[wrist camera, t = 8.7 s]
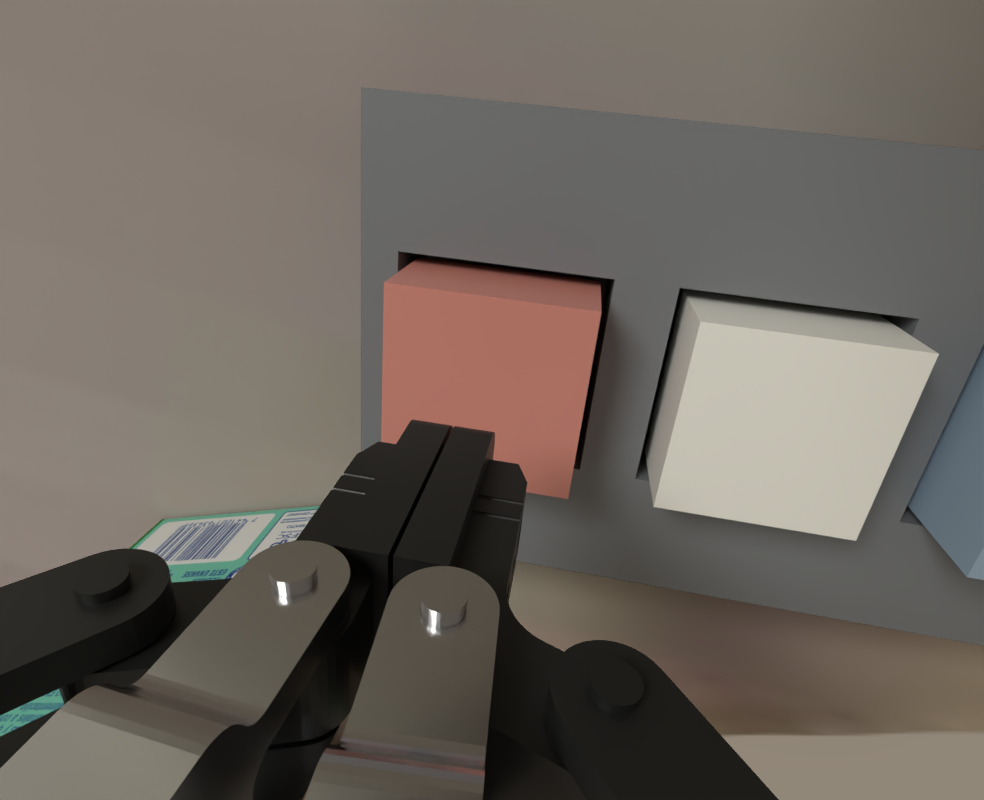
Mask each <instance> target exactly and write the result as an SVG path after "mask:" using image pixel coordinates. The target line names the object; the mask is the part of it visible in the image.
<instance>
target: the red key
mask: <svg viewBox="0 0 984 800" xmlns="http://www.w3.org/2000/svg"><path fill="white" fill-rule="evenodd" d="M601 312H602V311H601V282H600V281H596V280H588V279H581V278H573V277H565V276H558V275H550V274H542V273H535V272H527V271H519V270H512V269H504V268H496V267H489V266H481V265H473V264H466V263H458V262H450V261H443V260H435V259H427V258H420V257H419V258H417V259H416V260H414V261H413V262H412V263H410V264H409V265H407V266H406V267H405V268H403V269H402V270H400V271H399V272H398V273H396V274H395V275H393V276H392V277H391V278H389V279H388V280H387V281H385V282H384V302H383V361H382V420H381V442H385V443H391V444H396V443H397V442H398V440H399V438H400V437H401V435H402V434H403V432H404V430H405V429H406V427H407V425H408V424H409V422H410V421H411V420H413V419H414V420H420V421H426V422H433V423H439V424H445V425H452V426H453V427H454V426H459V427H465V428H472V429H478V430H484V431H491V432H495V445H494V455H493V460H497V461H503V462H509V463H515V464H519V466H520V468H521V470H522V472H523V474H524V476H525V479H526V481H527V489H526V492H529V493H535V494H540V495H546V496H552V497H558V498H564V499H568V496H569V491H570V485H571V480H572V474H573V469H574V463H575V457H576V452H577V446H578V441H579V435H580V429H581V424H582V418H583V413H584V407H585V402H586V396H587V390H588V385H589V379H590V374H591V368H592V362H593V357H594V351H595V346H596V340H597V335H598V329H599V323H600V318H601Z"/></svg>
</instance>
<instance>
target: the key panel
mask: <svg viewBox="0 0 984 800" xmlns="http://www.w3.org/2000/svg"><path fill="white" fill-rule="evenodd" d="M419 257H420V258H427V259H435V260H443V261H450V262H458V263H466V264H473V265H481V266H489V267H496V268H504V269H512V270H519V271H527V272H535V273H542V274H550V275H558V276H565V277H573V278H581V279H588V280H596V281H600V282H601V311H602V312H601V318H600V323H599V329H598V335H597V340H596V346H595V351H594V357H593V362H592V368H591V374H590V379H589V385H588V390H587V396H586V402H585V407H584V413H583V418H582V424H581V429H580V435H579V441H578V446H577V452H576V457H575V463H574V469H573V474H572V480H571V485H570V491H569V496H568V499H564V498H558V497H552V496H546V495H540V494H535V493H529V492H526V497H525V504H524V511H523V518H522V526H521V533H520V540H519V547H518V554H517V559H516V561H519V562H524V563H530V564H535V565H541V566H546V567H552V568H557V569H563V570H568V571H574V572H579V573H585V574H590V575H596V576H601V577H607V578H612V579H618V580H623V581H629V582H634V583H640V584H646V585H651V586H657V587H662V588H668V589H673V590H679V591H684V592H690V593H695V594H701V595H706V596H712V597H717V598H723V599H728V600H734V601H739V602H745V603H750V604H756V605H761V606H767V607H772V608H778V609H783V610H789V611H795V612H800V613H806V614H811V615H817V616H822V617H828V618H833V619H839V620H844V621H850V622H855V623H861V624H866V625H872V626H877V627H883V628H888V629H894V630H899V631H905V632H910V633H916V634H921V635H927V636H932V637H938V638H944V639H949V640H955V641H960V642H966V643H971V644H977V645H982V646H984V580H980V579H974V578H969V577H966V576H965V574H964V573H963V572H962V571H961V570H960V568H959V567H958V566H957V565H956V564H955V562H954V561H953V560H952V559H951V558H950V556H949V555H948V554H947V553H946V552H945V550H944V549H943V548H942V547H941V546H940V544H939V543H938V542H937V541H936V539H935V538H934V537H933V536H932V535H931V533H930V532H929V531H928V530H927V529H926V527H925V526H924V525H923V524H922V523H921V521H920V520H919V519H918V518H917V517H916V515H915V514H914V513H913V512H912V511H911V509H910V508H909V507H908V506H907V505H908V503H909V501H910V499H911V496H912V494H913V492H914V490H915V488H916V486H917V484H918V482H919V480H920V477H921V475H922V473H923V471H924V469H925V467H926V465H927V463H928V461H929V459H930V456H931V454H932V452H933V450H934V448H935V446H936V444H937V442H938V440H939V437H940V435H941V433H942V431H943V429H944V427H945V425H946V423H947V421H948V418H949V416H950V414H951V412H952V410H953V408H954V406H955V404H956V402H957V400H958V397H959V395H960V393H961V391H962V389H963V387H964V385H965V383H966V381H967V378H968V376H969V374H970V372H971V370H972V368H973V366H974V364H975V362H976V359H977V357H978V355H979V353H980V351H981V349H982V347H983V345H984V150H975V149H965V148H956V147H946V146H936V145H926V144H916V143H906V142H896V141H886V140H876V139H867V138H857V137H847V136H837V135H827V134H817V133H807V132H797V131H787V130H778V129H768V128H758V127H748V126H738V125H728V124H718V123H708V122H698V121H689V120H679V119H669V118H659V117H649V116H639V115H629V114H619V113H609V112H600V111H590V110H580V109H570V108H560V107H550V106H540V105H530V104H520V103H511V102H501V101H491V100H481V99H471V98H461V97H451V96H441V95H431V94H422V93H412V92H402V91H392V90H382V89H372V88H362V87H361V452H362V451H363V450H365V449H367V448H368V447H370V446H372V445H373V444H375V443H377V442H378V441H379V442H381V420H382V361H383V302H384V282H385V281H387V280H388V279H389V278H391V277H392V276H393V275H395V274H396V273H398V272H399V271H400V270H402V269H403V268H405V267H406V266H407V265H409V264H410V263H412V262H413V261H414V260H416V259H417V258H419ZM683 289H685V290H693V291H700V292H708V293H716V294H723V295H731V296H739V297H747V298H754V299H762V300H770V301H777V302H785V303H793V304H800V305H808V306H816V307H824V308H831V309H839V310H847V311H854V312H862V313H870V314H877V315H880V316H882V317H883V318H885V319H886V320H888V321H889V322H891V323H892V324H894V325H895V326H897V327H899V328H900V329H902V330H903V331H905V332H906V333H908V334H909V335H911V336H912V337H914V338H915V339H917V340H919V341H920V342H922V343H923V344H925V345H926V346H928V347H929V348H931V349H932V350H934V351H935V352H937V353H939V355H938V357H937V360H936V362H935V364H934V366H933V369H932V371H931V373H930V375H929V378H928V380H927V382H926V384H925V387H924V389H923V391H922V393H921V396H920V398H919V400H918V402H917V405H916V407H915V409H914V411H913V414H912V416H911V418H910V421H909V423H908V425H907V427H906V430H905V432H904V434H903V436H902V439H901V441H900V443H899V445H898V448H897V450H896V452H895V454H894V457H893V459H892V461H891V463H890V466H889V468H888V470H887V472H886V475H885V477H884V479H883V481H882V484H881V486H880V488H879V490H878V493H877V495H876V497H875V499H874V502H873V504H872V506H871V508H870V511H869V513H868V515H867V517H866V520H865V522H864V524H863V526H862V529H861V531H860V533H859V535H858V538H857V540H856V541H854V540H848V539H842V538H836V537H830V536H824V535H818V534H812V533H806V532H800V531H794V530H788V529H782V528H776V527H770V526H764V525H758V524H752V523H746V522H740V521H734V520H728V519H722V518H716V517H710V516H705V515H699V514H693V513H687V512H681V511H675V510H669V509H663V508H657V507H653V501H652V494H651V488H650V481H649V475H648V468H647V462H646V456H645V447H646V443H647V439H648V435H649V430H650V426H651V422H652V418H653V413H654V409H655V405H656V401H657V396H658V392H659V388H660V384H661V379H662V375H663V371H664V367H665V362H666V358H667V354H668V350H669V345H670V341H671V337H672V333H673V328H674V324H675V320H676V316H677V311H678V307H679V303H680V299H681V294H682V290H683Z"/></svg>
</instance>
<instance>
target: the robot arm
mask: <svg viewBox="0 0 984 800" xmlns="http://www.w3.org/2000/svg"><path fill="white" fill-rule="evenodd" d="M494 445H495V432H491V431H484V430H478V429H472V428H465V427H459V426H454V427H453V426H452V425H445V424H439V423H433V422H426V421H420V420H414V419H413V420H411V421H410V422H409V424H408V425H407V427H406V429H405V430H404V432H403V434H402V435H401V437H400V438H399V440H398V442H397V443H396V444H391V443H385V442H379V441H378V442H377V443H375V444H373V445H372V446H370V447H368V448H367V449H365V450H363V451H362V452H360V453H358V454H357V455H356V456H355V458H354V459H353V460H352V462H351V463H350V465H349V466H348V467H347V469H346V470H345V472H344V476H343V475H342V476H341V477H340V479H339V480H338V481H337V483H336V484H335V486H334V489H333V490H331V491H330V493H329V494H328V495H327V497H326V498H325V500H324V501H323V502H322V504H321V505H320V507H319V508H318V509H317V511H316V512H315V514H314V515H313V516H312V518H311V519H310V521H309V522H308V523H307V525H306V526H305V528H304V529H303V530H302V532H301V533H300V535H299V536H298V537H297V539H296V540H295V541H291V542H285V543H282V544H278V545H275V546H272V547H270V548H267V549H265V550H263V551H261V552H260V553H258V554H257V555H255V556H254V557H252V558H251V559H250V560H249V561H248V562H247V563H246V564H245V565H244V566H243V567H242V568H241V569H240V570H239V571H238V572H237V573H236V575H235V576H234V577H233V578H228V579H218V580H202V581H186V582H172V581H171V576H170V571H169V567H168V565H167V563H166V562H165V560H164V559H163V558H162V557H160V556H159V555H157V554H155V553H153V552H150V551H146V550H142V549H117V550H110V551H105V552H101V553H97V554H94V555H91V556H88V557H85V558H82V559H79V560H77V561H74V562H71V563H68V564H65V565H63V566H60V567H57V568H54V569H51V570H48V571H46V572H43V573H40V574H37V575H34V576H31V577H29V578H26V579H23V580H20V581H17V582H15V583H12V584H9V585H6V586H3V587H0V715H3V714H5V713H7V712H9V711H11V710H13V709H16V708H18V707H20V706H22V705H24V704H26V703H28V702H31V701H33V700H35V699H37V698H39V697H41V696H44V695H46V694H48V693H50V692H52V691H54V690H57V689H59V691H60V694H61V696H62V699H63V702H64V706H62V707H60V708H58V709H56V710H54V711H52V712H50V713H48V714H46V715H44V716H42V717H40V718H38V719H35V720H33V721H31V722H29V723H27V724H25V725H23V726H21V727H19V728H17V729H15V730H13V731H11V732H8V733H6V734H4V735H2V736H0V800H778V799H777V797H776V796H775V795H774V794H773V793H772V792H771V791H770V790H769V789H768V787H766V785H765V784H764V783H763V782H762V781H761V780H760V779H759V777H758V776H757V775H756V774H755V773H754V772H753V771H752V770H751V769H750V768H749V766H748V765H747V764H746V763H745V762H744V761H743V760H742V759H741V758H740V756H739V755H738V754H737V753H736V752H735V751H734V750H733V749H732V747H730V745H729V744H728V743H727V742H726V741H725V740H724V738H723V737H722V736H721V735H720V734H719V733H718V732H717V731H716V730H715V728H714V727H713V726H712V725H711V724H710V723H709V722H708V721H707V720H706V718H705V717H704V716H703V715H702V714H701V713H700V712H699V711H698V710H697V708H696V707H695V706H694V705H693V704H692V703H691V702H690V701H689V700H688V698H687V697H686V696H685V695H684V694H683V693H682V692H681V691H680V689H679V688H678V687H677V686H676V685H675V684H674V683H673V682H672V681H671V679H670V678H669V677H668V676H667V675H666V674H665V673H664V672H663V671H662V669H661V668H660V667H659V666H657V665H656V664H655V663H654V662H653V661H652V660H651V659H649V658H648V657H647V656H645V655H644V654H642V653H641V652H639V651H637V650H636V649H633V648H631V647H629V646H626V645H624V644H620V643H617V642H612V641H605V640H593V641H585V642H582V643H579V644H576V645H574V646H572V647H570V648H568V649H567V650H566V651H565V652H563V651H561V650H559V649H557V648H555V647H553V646H551V645H549V644H547V643H545V642H543V641H542V640H540V639H538V638H537V637H535V636H534V635H532V634H531V633H530V632H528V631H527V630H526V629H525V628H524V627H523V626H522V625H521V624H520V623H519V622H518V621H517V619H516V618H515V617H514V615H513V613H512V611H511V609H510V607H509V604H508V602H509V597H510V591H511V586H512V581H513V575H514V570H515V564H516V559H517V554H518V547H519V540H520V533H521V526H522V518H523V511H524V504H525V497H526V489H527V481H526V479H525V476H524V474H523V472H522V470H521V468H520V466H519V464H515V463H509V462H503V461H497V460H493V455H494Z"/></svg>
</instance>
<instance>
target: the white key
mask: <svg viewBox="0 0 984 800" xmlns="http://www.w3.org/2000/svg"><path fill="white" fill-rule="evenodd" d="M938 355H939V353H937V352H935V351H934V350H932V349H931V348H929V347H928V346H926V345H925V344H923V343H922V342H920V341H919V340H917V339H915V338H914V337H912V336H911V335H909V334H908V333H906V332H905V331H903V330H902V329H900V328H899V327H897V326H895V325H894V324H892V323H891V322H889V321H888V320H886V319H885V318H883V317H882V316H880V315H877V314H870V313H862V312H854V311H847V310H839V309H831V308H824V307H816V306H808V305H800V304H793V303H785V302H777V301H770V300H762V299H754V298H747V297H739V296H731V295H723V294H716V293H708V292H700V291H693V290H685V289H683V290H682V294H681V299H680V303H679V307H678V311H677V316H676V320H675V324H674V328H673V333H672V337H671V341H670V345H669V350H668V354H667V358H666V362H665V367H664V371H663V375H662V379H661V384H660V388H659V392H658V396H657V401H656V405H655V409H654V413H653V418H652V422H651V426H650V430H649V435H648V439H647V443H646V447H645V456H646V462H647V468H648V475H649V481H650V488H651V494H652V501H653V507H657V508H663V509H669V510H675V511H681V512H687V513H693V514H699V515H705V516H710V517H716V518H722V519H728V520H734V521H740V522H746V523H752V524H758V525H764V526H770V527H776V528H782V529H788V530H794V531H800V532H806V533H812V534H818V535H824V536H830V537H836V538H842V539H848V540H854V541H856V540H857V538H858V535H859V533H860V531H861V529H862V526H863V524H864V522H865V520H866V517H867V515H868V513H869V511H870V508H871V506H872V504H873V502H874V499H875V497H876V495H877V493H878V490H879V488H880V486H881V484H882V481H883V479H884V477H885V475H886V472H887V470H888V468H889V466H890V463H891V461H892V459H893V457H894V454H895V452H896V450H897V448H898V445H899V443H900V441H901V439H902V436H903V434H904V432H905V430H906V427H907V425H908V423H909V421H910V418H911V416H912V414H913V411H914V409H915V407H916V405H917V402H918V400H919V398H920V396H921V393H922V391H923V389H924V387H925V384H926V382H927V380H928V378H929V375H930V373H931V371H932V369H933V366H934V364H935V362H936V360H937V357H938Z"/></svg>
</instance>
